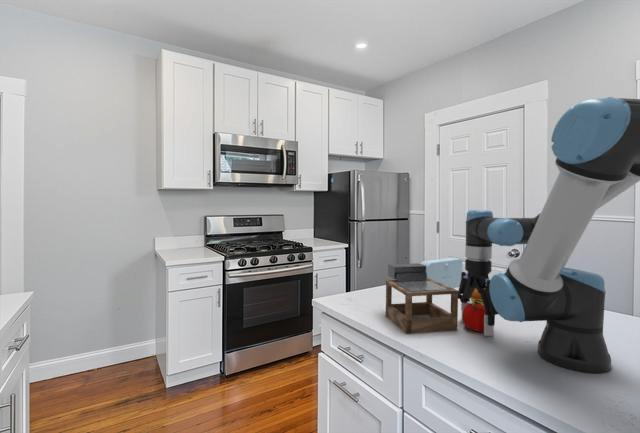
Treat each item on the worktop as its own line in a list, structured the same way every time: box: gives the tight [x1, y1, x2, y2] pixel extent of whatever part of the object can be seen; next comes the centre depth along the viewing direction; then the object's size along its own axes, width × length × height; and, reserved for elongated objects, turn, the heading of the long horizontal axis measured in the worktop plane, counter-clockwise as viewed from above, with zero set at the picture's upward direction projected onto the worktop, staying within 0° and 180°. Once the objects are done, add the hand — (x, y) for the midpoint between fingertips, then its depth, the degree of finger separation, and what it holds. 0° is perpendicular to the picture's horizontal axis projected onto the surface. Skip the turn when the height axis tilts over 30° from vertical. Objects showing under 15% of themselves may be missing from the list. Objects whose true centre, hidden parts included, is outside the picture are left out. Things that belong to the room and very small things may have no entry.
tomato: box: [463, 303, 486, 333], centre depth 108 cm, size 9×9×8 cm
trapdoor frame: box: [385, 279, 459, 335], centre depth 114 cm, size 17×17×12 cm
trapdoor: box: [387, 262, 449, 292], centre depth 117 cm, size 19×13×6 cm
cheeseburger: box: [470, 288, 484, 305], centre depth 132 cm, size 10×11×10 cm
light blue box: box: [420, 257, 463, 289], centre depth 159 cm, size 23×6×13 cm, turn 122°
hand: (476, 328), depth 108 cm, fingers open, 10 cm apart
